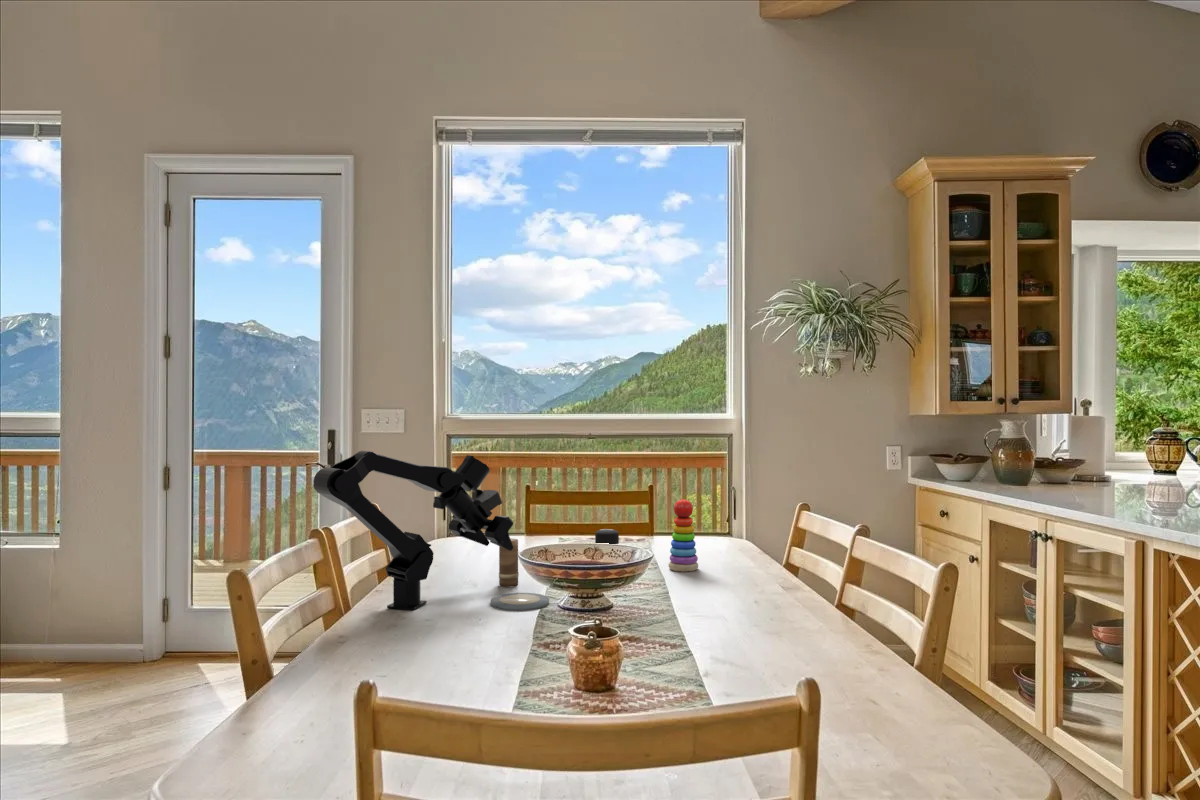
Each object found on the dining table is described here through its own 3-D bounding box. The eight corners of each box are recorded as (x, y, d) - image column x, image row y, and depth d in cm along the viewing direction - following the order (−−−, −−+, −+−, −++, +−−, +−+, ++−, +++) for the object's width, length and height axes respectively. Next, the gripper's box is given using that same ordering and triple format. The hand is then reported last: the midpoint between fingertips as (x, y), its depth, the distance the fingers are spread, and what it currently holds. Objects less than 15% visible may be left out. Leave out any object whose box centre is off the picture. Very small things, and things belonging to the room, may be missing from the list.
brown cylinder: (514, 587, 196) (514, 542, 196) (495, 586, 197) (495, 541, 197) (521, 583, 200) (521, 538, 200) (503, 582, 202) (503, 538, 201)
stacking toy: (663, 567, 219) (663, 498, 219) (688, 565, 222) (688, 496, 222) (677, 573, 212) (677, 501, 211) (704, 570, 215) (704, 500, 215)
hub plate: (537, 612, 173) (537, 608, 173) (481, 608, 176) (481, 604, 176) (556, 598, 185) (556, 594, 185) (503, 594, 189) (503, 590, 189)
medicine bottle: (620, 580, 204) (620, 532, 204) (592, 579, 204) (592, 532, 204) (620, 573, 211) (620, 527, 211) (593, 573, 211) (593, 527, 211)
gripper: (506, 482, 186) (542, 524, 194) (458, 477, 199) (494, 516, 207) (479, 520, 181) (517, 562, 189) (431, 512, 194) (469, 551, 202)
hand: (499, 546), depth 197 cm, fingers open, 9 cm apart
